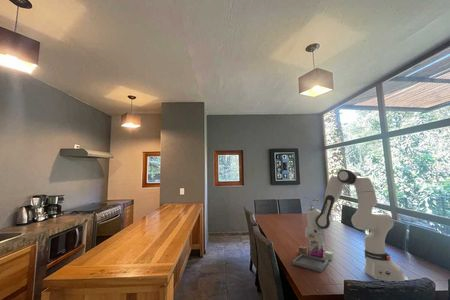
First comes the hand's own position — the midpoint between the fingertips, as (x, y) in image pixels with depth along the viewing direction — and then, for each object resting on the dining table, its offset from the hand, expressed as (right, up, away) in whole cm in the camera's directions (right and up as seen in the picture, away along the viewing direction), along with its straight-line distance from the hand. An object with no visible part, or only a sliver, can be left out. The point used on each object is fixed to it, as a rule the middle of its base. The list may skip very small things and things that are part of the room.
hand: (315, 246), depth 167 cm
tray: (-10, -6, -15) cm, 19 cm away
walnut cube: (-8, -9, +5) cm, 13 cm away
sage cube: (+8, -7, -7) cm, 13 cm away
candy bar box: (0, -8, 0) cm, 8 cm away
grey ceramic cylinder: (+10, -9, +11) cm, 17 cm away
